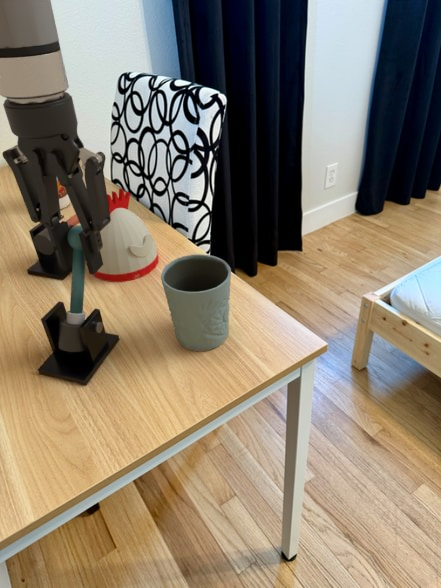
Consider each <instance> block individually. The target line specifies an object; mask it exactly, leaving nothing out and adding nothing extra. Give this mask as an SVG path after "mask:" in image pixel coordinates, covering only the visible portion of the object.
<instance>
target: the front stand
mask: <svg viewBox="0 0 441 588" xmlns="http://www.w3.org/2000/svg"><path fill="white" fill-rule="evenodd" d="M66 319H67V310H66V307H65V303H64V301H60V300H59V301H58V302H57V303H56V304H54V306H52V307H51V308H50V309H49V310H48V311H47V312H46V314H45V315H43V316H42V318H40V321H41V324H42V327H43V330H44V332H45V335H46V338H47V341H48V344H49V346H50V348H51V351H52V352H51V354H49V356H48V357H46V359H45V360H44V361H43V362H42V363H41V364H40V366H39V367H38V368H37V372H38V374H39V375H42V376H45V377H50V378H54V379H58V380H62V381H65V382H70V383H73V384H78V385H82V386H87V385H88V383H89V382H90V381H91V380H92V378H93V377H94V375H95V374H96V373H97V371H98V370H99V369H100V367H101V366H102V365H103V363H104V362H105V360H106V359H107V358H108V357H109V356H110V354H111V353H112V351H113V350H114V349H115V347H116V346H117V344H118V343H119V342H120V335H118V334H114V333H109V332H106V329H105V325H104V320H103V317H102V312H101V309H100V308H94V309H93V310H92V311H91V312H90V314H89V315H88V316H87V317H85V321H84V322H83V323H82V324H81V325H80V326H79V331H80V334H81V337H82V340H83V344H84V347H85V351H80V352H69V351H64V350H61V349H60V348H59V329H60V321H62V320H66Z"/></svg>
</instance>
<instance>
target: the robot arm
mask: <svg viewBox="0 0 441 588" xmlns="http://www.w3.org/2000/svg"><path fill="white" fill-rule="evenodd" d="M56 24H57V23H56V20H55V15H54V10H53V6H52V1H51V0H0V96H1V97H2V98H5V99H4V101H3V104H2V106H3V109H4V113H5V115H6V118H7V121H8V125H9V128H10V130H11V133H12V134H13V135H14V136H15V137H17V143H16V145H14V146H11V147H9V148H8V149H6V150H4V151H3V152H2V157H3V159H4V160H5V162H6V164H7V165H8V166H9V168H10V170H11V171H12V174H13V176H14V179H15V181H16V185H17V187H18V189H19V192H20V194H21V197H22V200H23V203H24V205H25V207H26V210H27V213H28V215H29V218H30V221H32V223H36V224H38V223H42V224H43V225H44V227H46V228H47V230H48V233H49V236H50V239H51V243H52V244H53V246H54V247H56V248H57V251H58V254H59V258H60V261H61V264H62V267H63V270H68V269H70V268H71V267H72V263H73V248H72V247H71V246H70V245H69V243H68V240H67V235H68V232H69V227H68V223H67V222H66V221H67V220H66V221H65V220H63V219H64V218H65V215H63V214H61V209H60V204H59V195H58V186H57V178H58V180H59V182H60V184H61V186H64V187H65V189H66V192H67V194H68V196H69V199H70V204H71V206H72V209H73V211H74V214H76V215H77V217H78V220H79V225H81V227H82V229H83V231H81V232H80V233H79V237H80V241H81V245H82V248H83V252H84V256H85V260H86V267H87V270H88V274H89V275H93V276H94V274H95V273H96V272H97V271H98V270H99V269H100V268H101V267H102V266H103V261H102V256H101V252H100V250H101V249H102V247H103V243H102V239H101V234H100V231H101V230H102V229H103V228H104V227H105V226H107V225H108V224H109V223H110V222H111V218H110V211H109V205H108V198H107V194H108V193H107V185H106V180H105V173H104V168H105V164H106V158H107V157H106V154H105V153H104V152H102V151H97V152H96V153H95V152H93V151H92V150H90V149H87V148H85V145H84V143H83V141H82V140H81V138H80V137H79V134H78V126H79V125H78V124H79V123H78V122H79V121H78V117H77V113H76V109H75V103H74V100H73V96H72V95H71V94H70V93H68V92H67V90H68V89H69V87H70V83H69V78H68V75H67V69H66V66H65V61H64V57H63V52H62V49H61V45H60V38H59V33H58V29H57V28H58V27H57V25H56ZM80 162H81V163H82V165H81V164H80ZM83 171H84V172H83ZM83 178H84V179H83ZM60 221H61V222H60Z"/></svg>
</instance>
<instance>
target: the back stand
mask: <svg viewBox="0 0 441 588" xmlns="http://www.w3.org/2000/svg"><path fill="white" fill-rule="evenodd" d="M68 227H69V230H70V229H71V228H72V227H73V225H68ZM45 228H46V227H44V225H43V224H42V223H40V222H38V223H37V224H36V225H35V226H34V227H32V228H31V229H30V230H28V232H29V235H30V239H31V242H32V245H33V248H34V251H35V254H36V256H37V261H36V262H34V263H33V264H32V265H31V266H30V267H29V268H27V269H26V273H27V275H32V276H37V277H42V278H48V279H53V280H60V281H64V279H65V278H67V276H69V275H70V274H72V267H71V268H70V269H68V270H63V267H62V264H61V261H60V258H59V254H58V251H57V250H56V251H55V252H54V253H52V254H51V255H45V254H43V253H41V252H40V251H39V250H38V249H37V248H36V247H35V245H34V241H33V240H34V237H35V236H36V235H37V234H39V233H40V232H41V231H43V230H44V229H45Z"/></svg>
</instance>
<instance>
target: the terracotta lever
mask: <svg viewBox="0 0 441 588" xmlns="http://www.w3.org/2000/svg"><path fill="white" fill-rule="evenodd" d="M66 222H67V223H68V225H73V227H74V226H76V225H79V224H80V222H79V220H78V217H77V215H76V213H74V214H73V215H72V216H70V218H68V219H67V220H66ZM33 241H34V244H33V246H34V245H35V247H36V248H37V249H38V250H39V251H40V252H41V253H43V254H45V255H51V254H52V253H54V252H55V251H56V250H57V248H56V247H54V246H53V244H52V243H51V239H50V236H49V233H48V230H47V228H45V229H44V230H43V231H41V232H40V233H39V234H37V235H36V236H35V237H34V240H33ZM33 241H32V242H33ZM35 247H34V248H35Z"/></svg>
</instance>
